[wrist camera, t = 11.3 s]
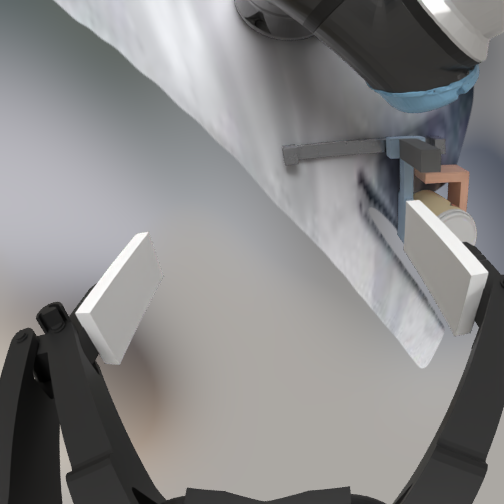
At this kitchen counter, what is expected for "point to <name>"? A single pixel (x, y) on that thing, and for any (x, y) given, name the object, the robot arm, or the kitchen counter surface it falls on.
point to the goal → (450, 183)
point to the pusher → (411, 167)
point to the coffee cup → (449, 215)
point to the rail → (345, 148)
